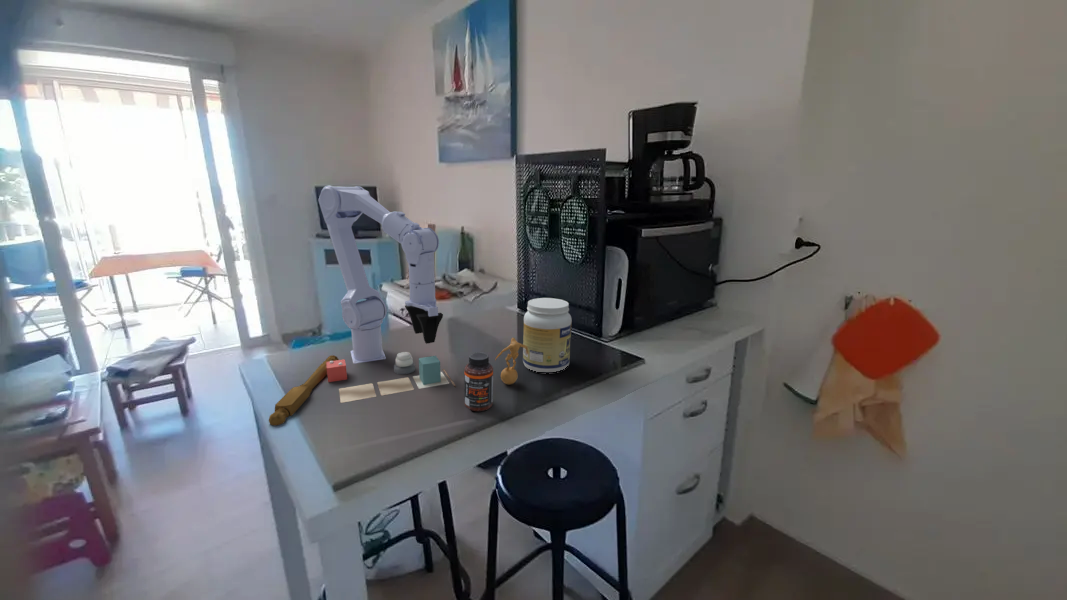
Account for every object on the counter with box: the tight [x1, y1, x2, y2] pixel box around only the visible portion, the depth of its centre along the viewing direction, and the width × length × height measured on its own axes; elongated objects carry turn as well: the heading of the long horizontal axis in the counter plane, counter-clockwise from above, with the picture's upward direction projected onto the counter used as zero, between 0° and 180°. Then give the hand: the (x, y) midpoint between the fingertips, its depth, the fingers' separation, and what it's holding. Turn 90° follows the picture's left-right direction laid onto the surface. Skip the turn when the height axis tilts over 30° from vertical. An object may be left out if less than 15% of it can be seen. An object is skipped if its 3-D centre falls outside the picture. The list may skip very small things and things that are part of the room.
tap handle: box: [268, 354, 340, 426], centre depth 94 cm, size 3×3×30 cm
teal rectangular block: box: [418, 355, 441, 385], centre depth 99 cm, size 4×4×5 cm
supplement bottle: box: [463, 351, 494, 412], centre depth 89 cm, size 6×6×11 cm
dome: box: [395, 351, 414, 367], centre depth 104 cm, size 4×4×2 cm
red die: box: [326, 359, 348, 383], centre depth 100 cm, size 4×4×4 cm
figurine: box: [495, 337, 528, 385], centre depth 98 cm, size 8×6×12 cm
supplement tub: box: [522, 297, 573, 373], centre depth 109 cm, size 12×12×17 cm
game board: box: [338, 368, 457, 404], centre depth 97 cm, size 10×25×1 cm, turn 116°
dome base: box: [393, 362, 416, 375], centre depth 105 cm, size 5×5×2 cm
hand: (424, 337), depth 102 cm, fingers open, 7 cm apart
